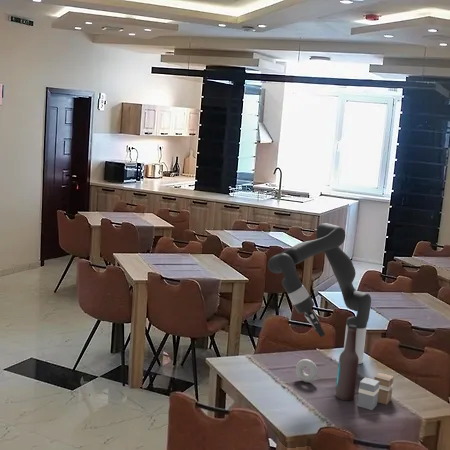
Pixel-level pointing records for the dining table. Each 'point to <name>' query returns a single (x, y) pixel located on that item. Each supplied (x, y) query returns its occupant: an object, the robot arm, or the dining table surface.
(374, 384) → the slate block
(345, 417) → the dining table surface
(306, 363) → the donut
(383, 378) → the tan block
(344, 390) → the beer bottle
